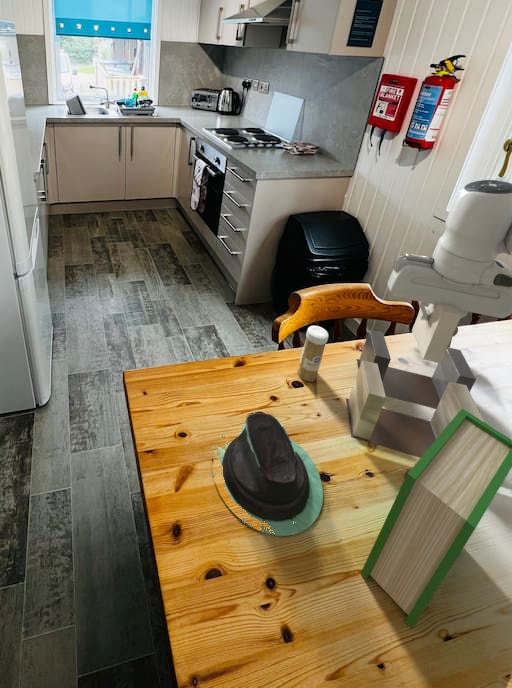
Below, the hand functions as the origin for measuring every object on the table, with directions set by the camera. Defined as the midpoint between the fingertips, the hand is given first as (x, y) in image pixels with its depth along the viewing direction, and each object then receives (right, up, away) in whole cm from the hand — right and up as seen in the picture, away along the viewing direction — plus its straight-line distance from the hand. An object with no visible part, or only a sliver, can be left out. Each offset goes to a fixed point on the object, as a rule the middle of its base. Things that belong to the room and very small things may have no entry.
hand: (435, 321), depth 80 cm
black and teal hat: (-37, -27, -6) cm, 46 cm away
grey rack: (+2, -20, +13) cm, 24 cm away
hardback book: (-16, -33, -18) cm, 41 cm away
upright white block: (0, -6, +3) cm, 7 cm away
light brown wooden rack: (-6, -24, +2) cm, 25 cm away
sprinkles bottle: (-20, -18, +16) cm, 31 cm away
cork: (+16, -16, +24) cm, 33 cm away
